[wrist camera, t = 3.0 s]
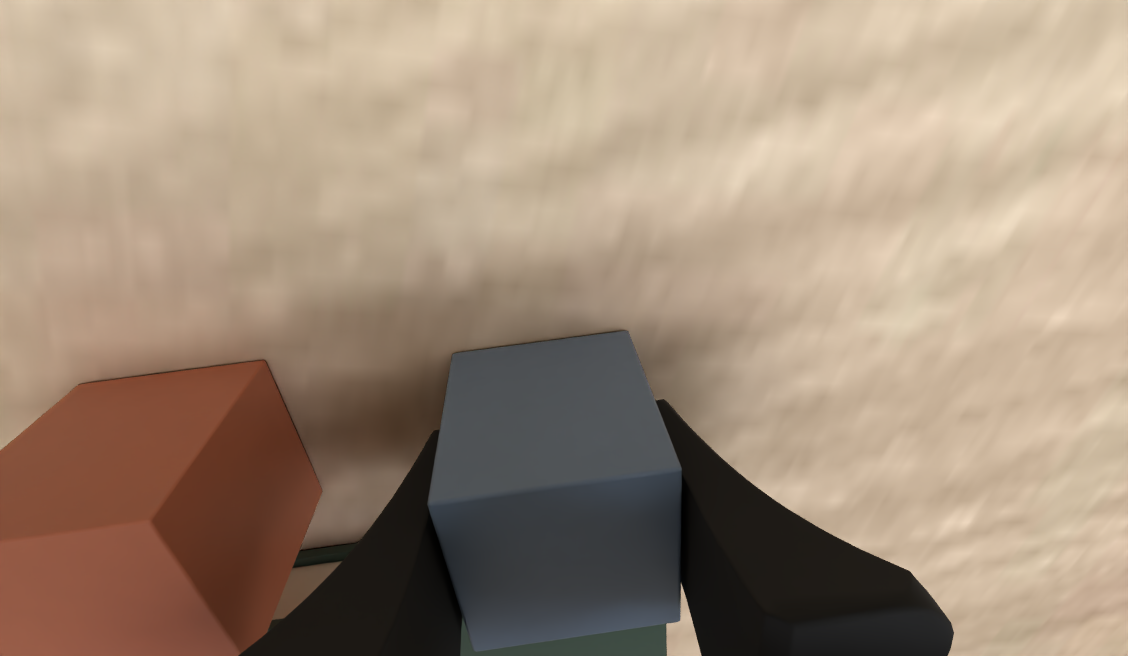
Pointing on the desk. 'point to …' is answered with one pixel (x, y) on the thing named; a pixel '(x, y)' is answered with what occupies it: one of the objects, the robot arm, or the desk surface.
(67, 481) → the terracotta block
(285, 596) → the book
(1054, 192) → the desk surface
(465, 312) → the desk surface
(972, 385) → the desk surface
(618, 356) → the slate block
